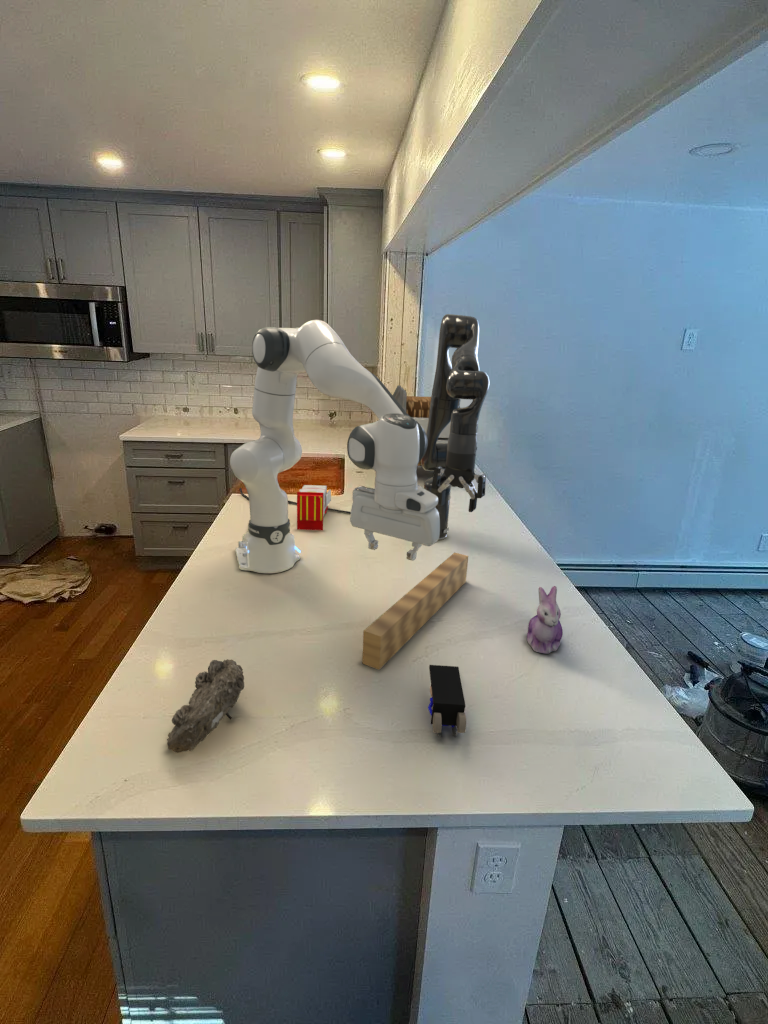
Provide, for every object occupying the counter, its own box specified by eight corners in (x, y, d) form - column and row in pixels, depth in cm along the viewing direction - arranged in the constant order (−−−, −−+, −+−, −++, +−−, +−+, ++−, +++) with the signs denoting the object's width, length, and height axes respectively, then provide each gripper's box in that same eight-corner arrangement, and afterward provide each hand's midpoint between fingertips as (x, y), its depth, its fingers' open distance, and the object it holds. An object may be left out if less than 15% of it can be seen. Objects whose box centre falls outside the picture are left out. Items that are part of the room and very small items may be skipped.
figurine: (544, 659, 130) (553, 602, 125) (515, 637, 139) (522, 582, 134) (574, 650, 135) (584, 594, 130) (544, 629, 143) (552, 575, 138)
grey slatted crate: (382, 463, 289) (386, 382, 275) (445, 464, 293) (451, 384, 279) (390, 482, 257) (394, 392, 243) (460, 483, 261) (468, 394, 247)
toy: (332, 480, 224) (326, 494, 194) (331, 513, 226) (326, 531, 197) (301, 479, 223) (291, 493, 194) (301, 513, 226) (291, 531, 197)
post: (452, 578, 168) (454, 552, 166) (465, 582, 166) (468, 555, 164) (362, 663, 126) (363, 630, 124) (379, 670, 124) (380, 636, 122)
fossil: (192, 660, 117) (244, 628, 112) (224, 691, 120) (276, 661, 115) (142, 746, 98) (202, 712, 93) (182, 779, 101) (242, 748, 96)
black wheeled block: (466, 750, 104) (456, 690, 118) (471, 720, 101) (459, 662, 115) (430, 749, 104) (423, 690, 118) (433, 719, 101) (426, 661, 114)
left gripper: (345, 487, 120) (343, 547, 125) (432, 507, 111) (427, 571, 116) (361, 480, 125) (358, 538, 130) (445, 499, 116) (440, 560, 121)
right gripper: (430, 447, 147) (426, 506, 153) (482, 456, 141) (476, 517, 146) (442, 442, 153) (438, 499, 159) (492, 450, 147) (486, 509, 152)
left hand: (391, 553), depth 123 cm, fingers open, 8 cm apart
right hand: (456, 508), depth 153 cm, fingers open, 8 cm apart
